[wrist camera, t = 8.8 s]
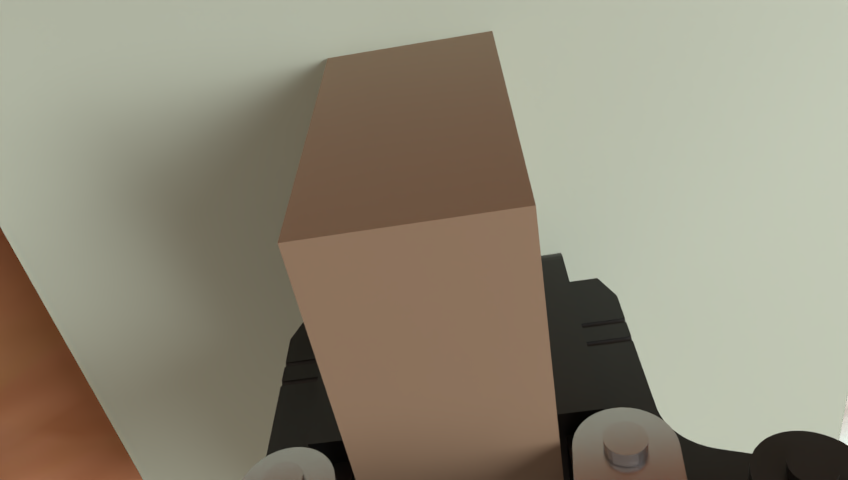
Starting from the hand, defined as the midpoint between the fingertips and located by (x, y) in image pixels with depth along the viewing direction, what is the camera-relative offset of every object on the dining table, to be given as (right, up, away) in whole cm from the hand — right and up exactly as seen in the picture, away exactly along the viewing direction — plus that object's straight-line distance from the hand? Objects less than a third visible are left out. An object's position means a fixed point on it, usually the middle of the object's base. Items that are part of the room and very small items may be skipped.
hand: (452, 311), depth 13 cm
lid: (0, +1, +2) cm, 2 cm away
